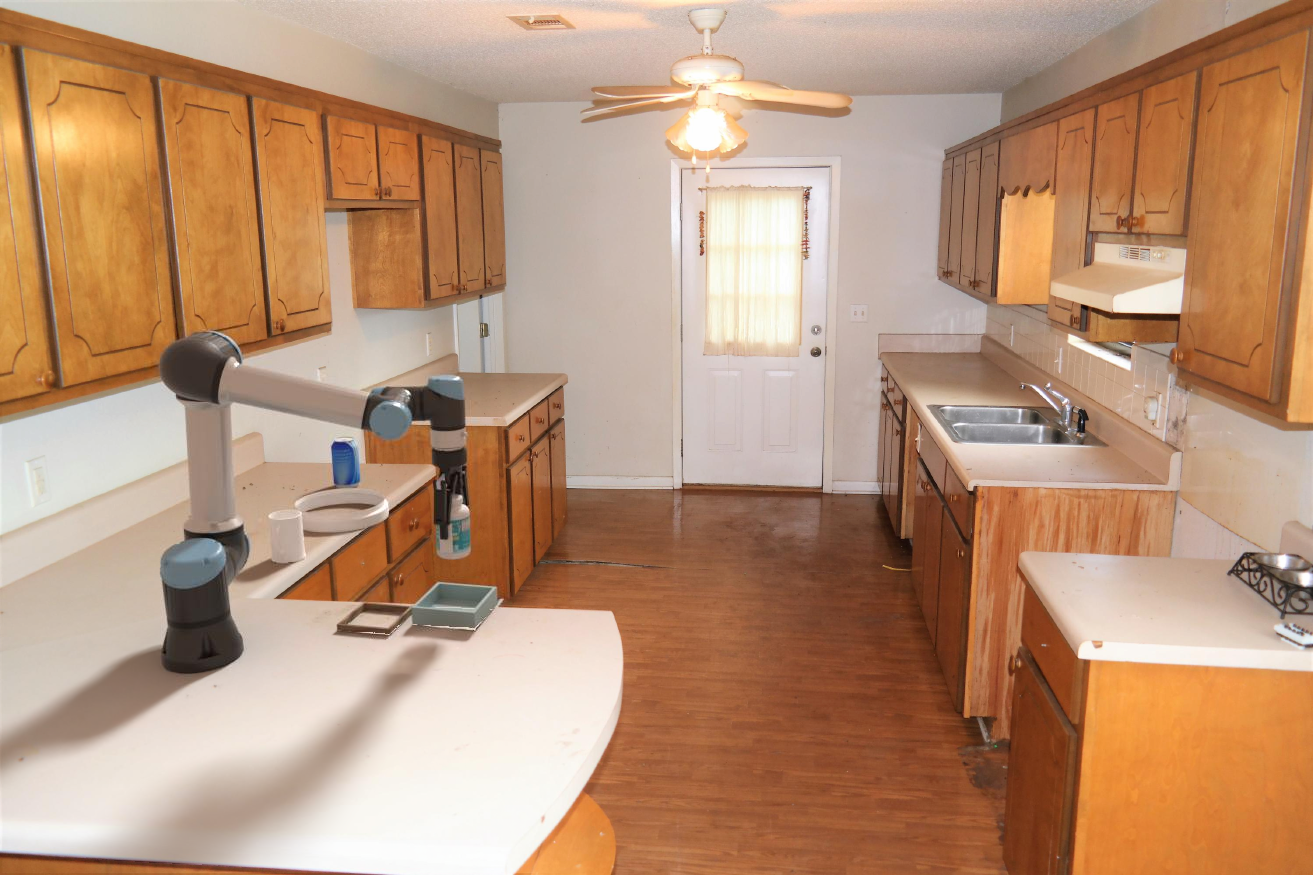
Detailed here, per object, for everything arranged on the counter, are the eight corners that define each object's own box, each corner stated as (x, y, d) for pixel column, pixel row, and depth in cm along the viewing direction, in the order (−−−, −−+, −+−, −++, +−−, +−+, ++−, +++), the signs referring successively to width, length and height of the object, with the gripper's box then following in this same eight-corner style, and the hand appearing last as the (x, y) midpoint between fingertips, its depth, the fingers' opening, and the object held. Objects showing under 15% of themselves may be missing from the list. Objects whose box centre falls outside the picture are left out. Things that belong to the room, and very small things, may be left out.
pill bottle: (430, 557, 205) (427, 499, 202) (448, 546, 212) (446, 490, 209) (459, 562, 202) (457, 503, 199) (477, 551, 209) (475, 494, 206)
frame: (389, 635, 200) (389, 629, 199) (337, 630, 202) (336, 624, 201) (413, 612, 211) (413, 606, 211) (363, 607, 213) (363, 601, 213)
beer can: (329, 488, 303) (325, 441, 299) (341, 481, 311) (338, 435, 308) (353, 490, 302) (349, 442, 298) (365, 482, 310) (362, 436, 306)
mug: (291, 569, 236) (287, 524, 233) (259, 567, 236) (254, 523, 233) (311, 552, 247) (308, 509, 244) (280, 551, 248) (276, 508, 245)
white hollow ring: (335, 539, 258) (333, 521, 256) (273, 521, 272) (272, 504, 270) (407, 514, 280) (407, 496, 279) (347, 498, 294) (346, 482, 293)
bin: (475, 630, 202) (474, 612, 201) (412, 625, 205) (411, 607, 204) (497, 603, 216) (497, 586, 215) (438, 598, 219) (437, 581, 218)
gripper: (447, 459, 191) (452, 563, 196) (481, 436, 210) (485, 531, 216) (413, 457, 192) (418, 560, 198) (450, 434, 211) (454, 529, 217)
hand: (453, 545), depth 207 cm, fingers closed on pill bottle, 7 cm apart
